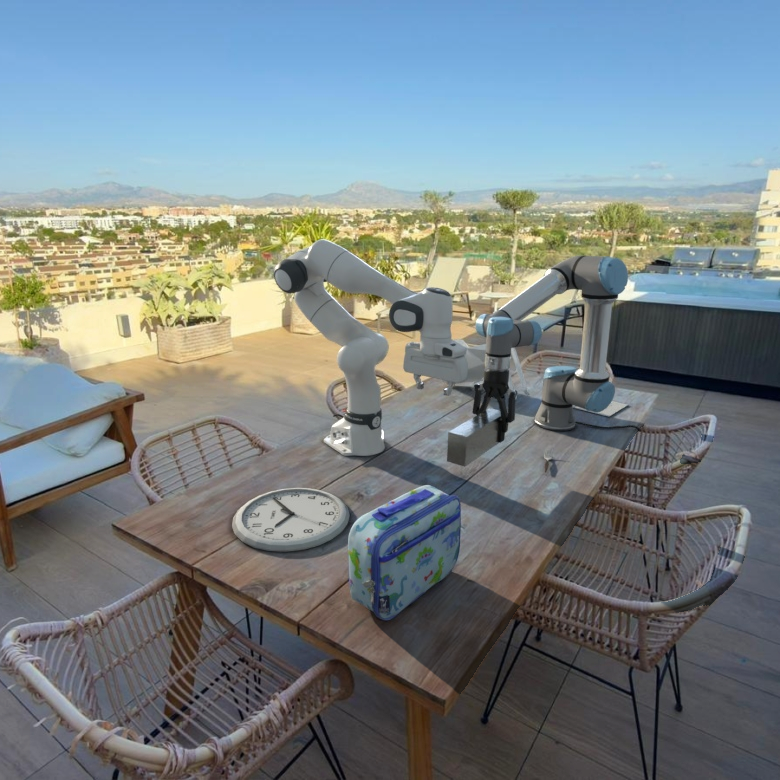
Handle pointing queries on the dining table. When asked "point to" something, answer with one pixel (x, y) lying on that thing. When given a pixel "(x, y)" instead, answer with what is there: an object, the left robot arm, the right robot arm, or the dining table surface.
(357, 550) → the lunch box
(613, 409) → the invitation card
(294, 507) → the wall clock
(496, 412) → the bar
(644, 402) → the dining table surface
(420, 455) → the dining table surface
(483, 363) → the white plastic object
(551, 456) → the fork
